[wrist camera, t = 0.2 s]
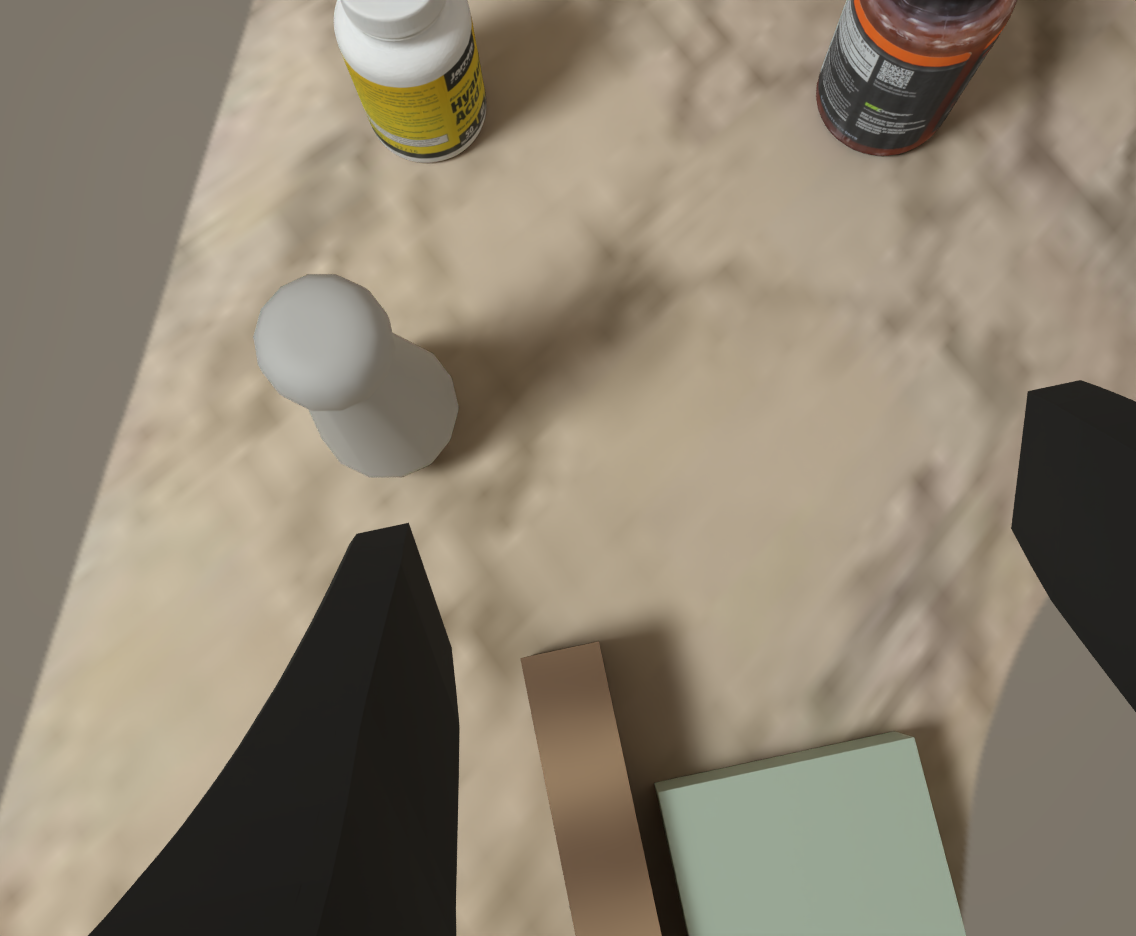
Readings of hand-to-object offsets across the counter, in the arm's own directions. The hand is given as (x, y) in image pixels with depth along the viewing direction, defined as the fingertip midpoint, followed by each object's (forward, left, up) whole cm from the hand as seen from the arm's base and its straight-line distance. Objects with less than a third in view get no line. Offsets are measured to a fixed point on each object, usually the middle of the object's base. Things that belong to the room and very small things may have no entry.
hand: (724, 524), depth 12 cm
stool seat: (-12, -4, -30) cm, 33 cm away
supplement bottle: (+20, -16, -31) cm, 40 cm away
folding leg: (-9, +3, -30) cm, 32 cm away
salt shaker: (+10, +8, -31) cm, 33 cm away
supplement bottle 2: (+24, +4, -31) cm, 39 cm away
